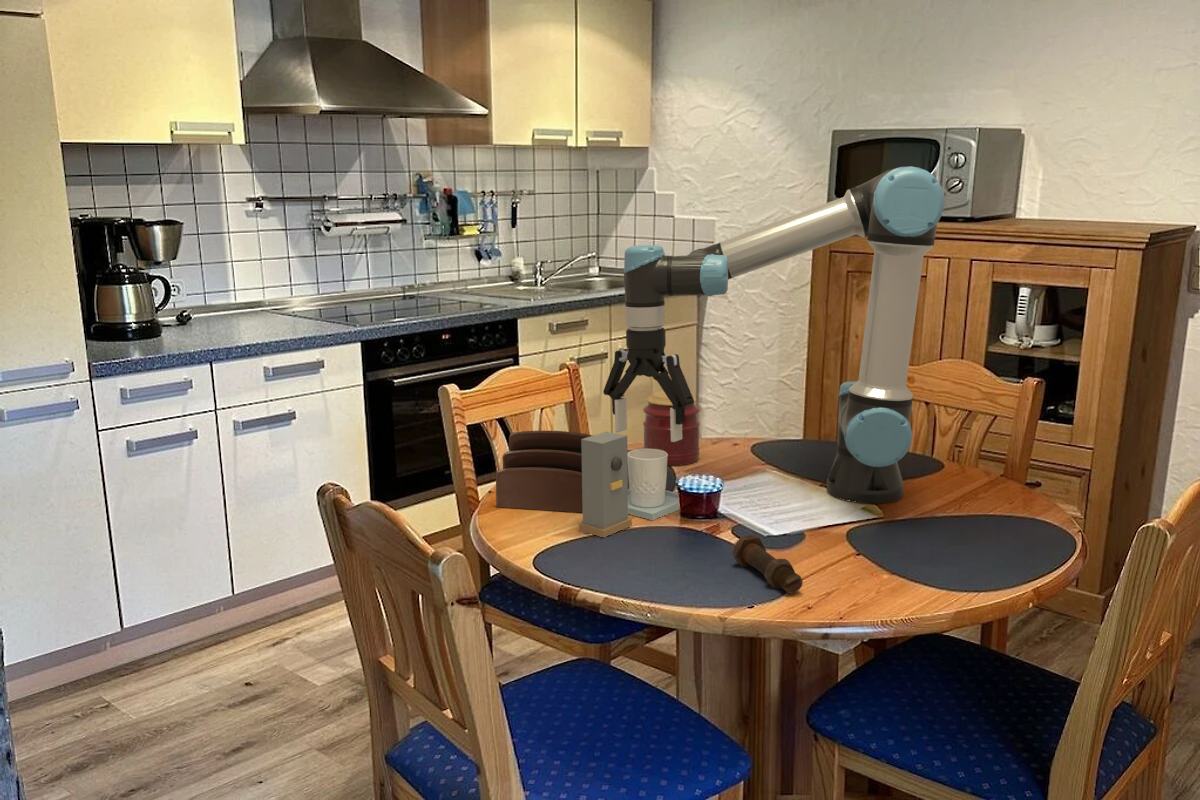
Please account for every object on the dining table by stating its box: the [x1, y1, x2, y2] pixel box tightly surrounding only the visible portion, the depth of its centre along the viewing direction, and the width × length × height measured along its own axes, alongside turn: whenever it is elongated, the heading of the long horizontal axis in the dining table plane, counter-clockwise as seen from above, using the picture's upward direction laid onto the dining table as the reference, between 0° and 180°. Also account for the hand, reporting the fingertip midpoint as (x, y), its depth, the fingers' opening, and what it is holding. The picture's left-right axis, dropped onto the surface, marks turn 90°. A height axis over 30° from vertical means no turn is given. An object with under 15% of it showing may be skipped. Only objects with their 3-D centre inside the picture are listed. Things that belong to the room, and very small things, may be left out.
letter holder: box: [495, 430, 595, 514], centre depth 198 cm, size 10×20×14 cm, turn 76°
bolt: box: [732, 534, 804, 594], centre depth 160 cm, size 6×5×15 cm
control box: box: [578, 431, 633, 538], centre depth 183 cm, size 6×8×18 cm
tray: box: [628, 488, 680, 521], centre depth 197 cm, size 13×13×1 cm
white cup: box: [627, 448, 668, 507], centre depth 196 cm, size 8×8×10 cm
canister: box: [642, 390, 701, 467], centre depth 228 cm, size 13×13×18 cm
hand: (648, 435), depth 194 cm, fingers open, 13 cm apart
